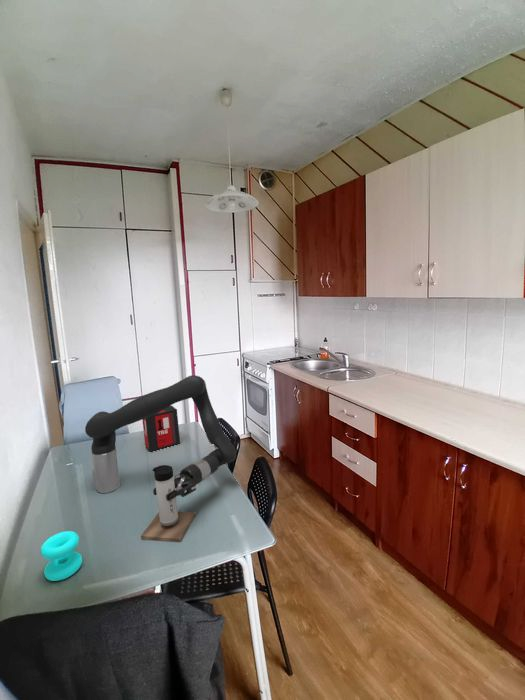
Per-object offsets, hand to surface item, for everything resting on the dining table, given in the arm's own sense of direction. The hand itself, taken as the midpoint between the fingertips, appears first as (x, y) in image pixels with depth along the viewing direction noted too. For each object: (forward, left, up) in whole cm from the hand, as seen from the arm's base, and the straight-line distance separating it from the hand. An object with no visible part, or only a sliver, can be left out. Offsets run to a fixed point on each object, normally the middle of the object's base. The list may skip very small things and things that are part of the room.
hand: (160, 495), depth 119 cm
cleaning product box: (-32, +66, -14) cm, 75 cm away
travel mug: (+1, +2, -11) cm, 11 cm away
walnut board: (+1, +2, -13) cm, 13 cm away
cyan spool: (-23, -20, -14) cm, 33 cm away
